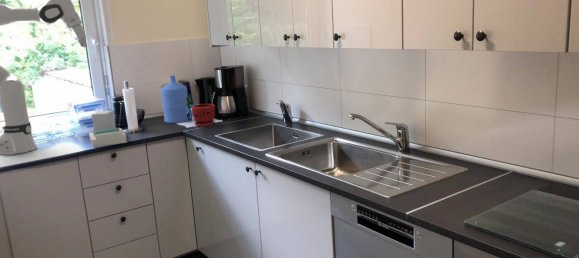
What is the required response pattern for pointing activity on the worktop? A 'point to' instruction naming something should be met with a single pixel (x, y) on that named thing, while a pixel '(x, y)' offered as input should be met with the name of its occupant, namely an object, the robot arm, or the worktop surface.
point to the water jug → (174, 102)
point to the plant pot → (203, 114)
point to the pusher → (107, 131)
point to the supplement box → (103, 120)
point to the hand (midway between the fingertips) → (84, 46)
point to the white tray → (108, 138)
